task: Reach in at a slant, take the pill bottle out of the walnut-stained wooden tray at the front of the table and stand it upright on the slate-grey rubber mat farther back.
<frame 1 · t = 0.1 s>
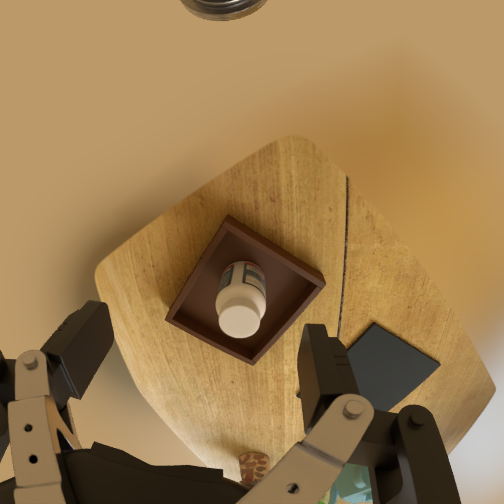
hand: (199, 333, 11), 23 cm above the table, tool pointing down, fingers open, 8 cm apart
figurine: (254, 458, 54), on the table
pill bottle: (243, 278, 36), resting on tray
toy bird: (307, 501, 69), on the table
mat: (374, 381, 43), on the table
tray: (242, 294, 37), on the table
teapot: (356, 459, 55), on the table
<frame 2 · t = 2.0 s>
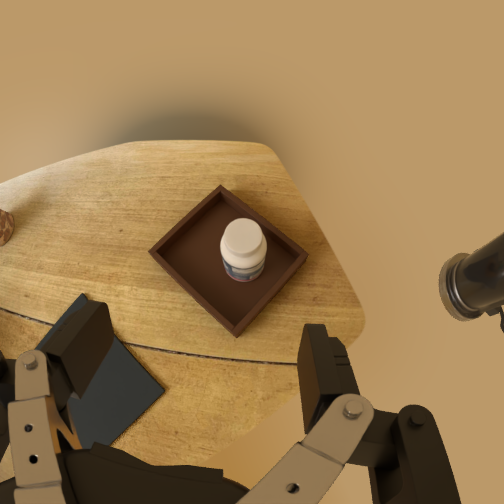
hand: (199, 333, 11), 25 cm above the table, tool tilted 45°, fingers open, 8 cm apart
figurine: (3, 231, 40), on the table
pill bottle: (244, 263, 38), resting on tray
mat: (77, 385, 31), on the table
tray: (227, 259, 39), on the table
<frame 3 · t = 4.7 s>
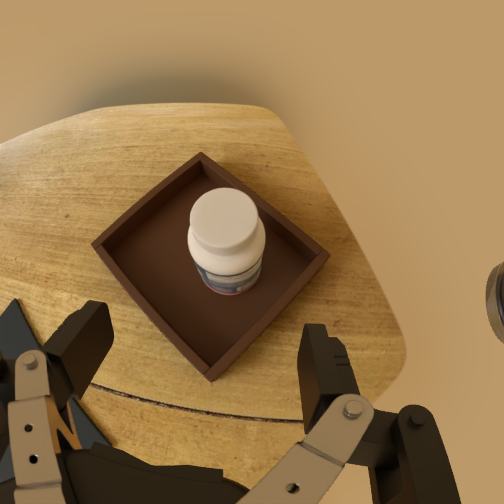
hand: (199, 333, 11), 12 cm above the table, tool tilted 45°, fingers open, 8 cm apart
pill bottle: (230, 267, 25), resting on tray
mat: (10, 418, 18), on the table
tray: (206, 260, 25), on the table
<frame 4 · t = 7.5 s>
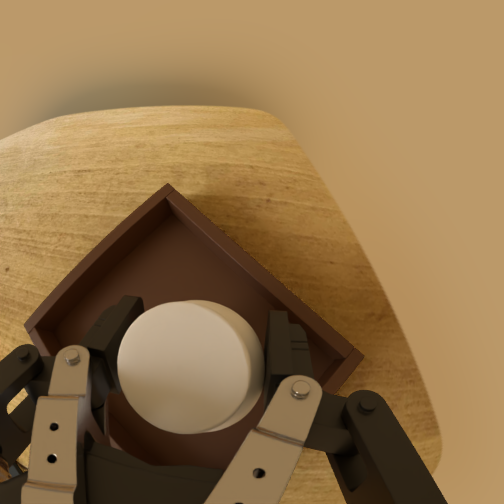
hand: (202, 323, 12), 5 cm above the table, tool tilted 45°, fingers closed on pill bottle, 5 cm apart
pill bottle: (213, 366, 16), resting on tray, touching gripper
tray: (177, 354, 16), on the table
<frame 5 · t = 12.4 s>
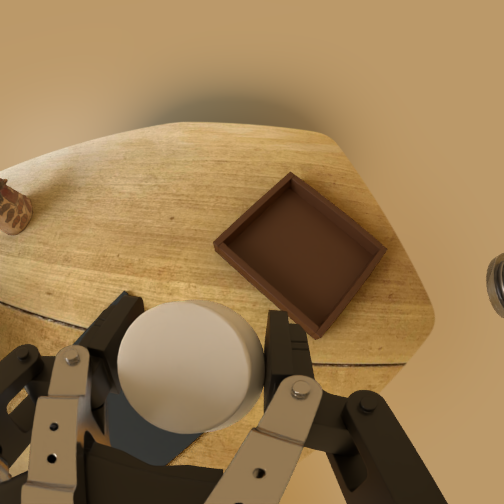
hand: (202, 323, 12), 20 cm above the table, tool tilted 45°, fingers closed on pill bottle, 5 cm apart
figurine: (19, 217, 36), on the table
pill bottle: (213, 366, 16), point 15 cm above the table, touching gripper
mat: (118, 402, 28), on the table
tray: (301, 253, 35), on the table
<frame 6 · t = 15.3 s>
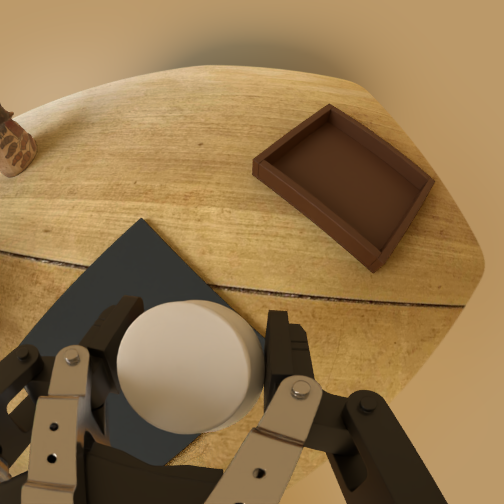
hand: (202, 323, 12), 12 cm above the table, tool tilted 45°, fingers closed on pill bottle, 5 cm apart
figurine: (20, 159, 31), on the table
pill bottle: (213, 366, 16), point 7 cm above the table, touching gripper
mat: (124, 359, 22), on the table
tray: (348, 181, 30), on the table
when the fingers open (6 cm above the table, at t = 17.7 s): pill bottle stays where it is, resting on mat.
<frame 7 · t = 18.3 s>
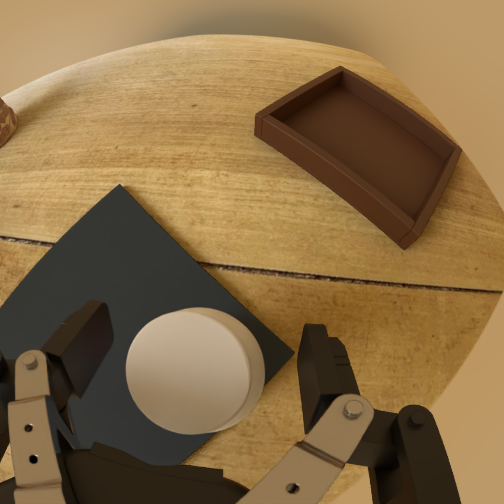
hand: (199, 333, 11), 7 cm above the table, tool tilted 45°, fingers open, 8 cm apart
figurine: (1, 136, 25), on the table
pill bottle: (214, 369, 16), resting on mat
mat: (91, 358, 16), on the table
tray: (367, 146, 24), on the table
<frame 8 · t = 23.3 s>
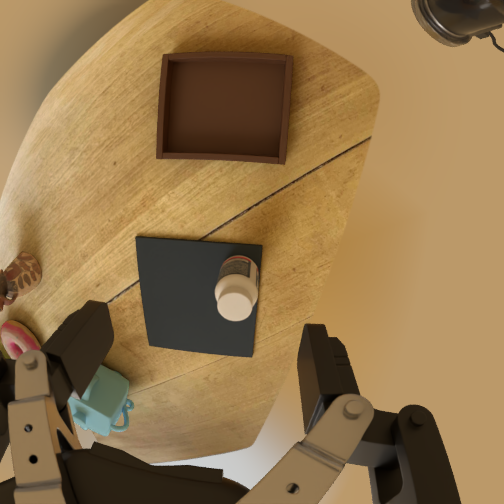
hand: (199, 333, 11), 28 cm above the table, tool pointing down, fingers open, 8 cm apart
donut: (27, 339, 51), on the table
figurine: (30, 268, 43), on the table
pill bottle: (239, 271, 41), resting on mat
mat: (197, 302, 43), on the table
tray: (224, 106, 33), on the table
teapot: (95, 372, 52), on the table
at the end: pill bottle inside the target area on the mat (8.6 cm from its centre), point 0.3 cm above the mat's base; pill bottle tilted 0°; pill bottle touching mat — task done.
